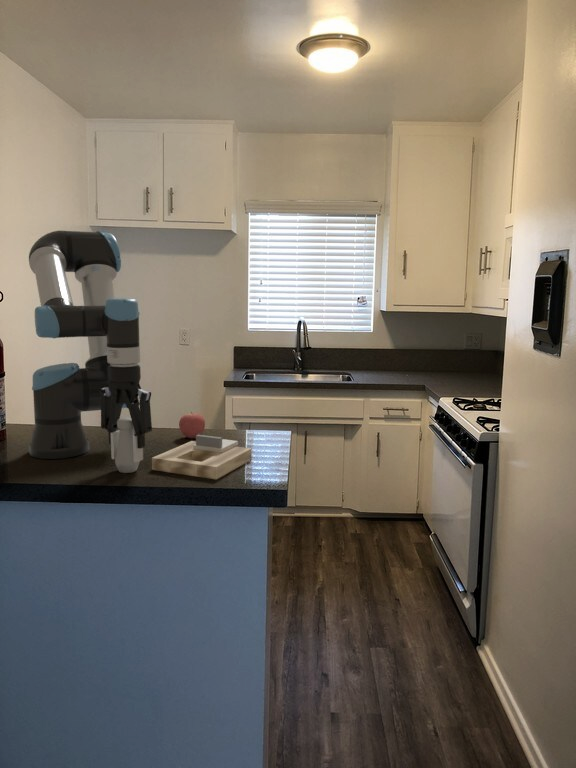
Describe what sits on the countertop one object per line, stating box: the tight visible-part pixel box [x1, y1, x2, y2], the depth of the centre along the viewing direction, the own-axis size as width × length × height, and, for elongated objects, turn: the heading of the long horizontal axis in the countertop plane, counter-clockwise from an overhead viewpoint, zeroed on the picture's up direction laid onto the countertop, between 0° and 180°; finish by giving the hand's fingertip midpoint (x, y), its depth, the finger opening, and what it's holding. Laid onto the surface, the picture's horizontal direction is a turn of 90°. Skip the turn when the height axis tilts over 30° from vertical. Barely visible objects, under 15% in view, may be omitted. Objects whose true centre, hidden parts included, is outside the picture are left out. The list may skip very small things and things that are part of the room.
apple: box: [178, 411, 206, 439], centre depth 183 cm, size 7×7×8 cm
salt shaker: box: [114, 416, 141, 474], centre depth 151 cm, size 6×6×13 cm
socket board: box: [151, 440, 252, 480], centre depth 157 cm, size 18×18×3 cm
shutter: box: [193, 434, 239, 453], centre depth 162 cm, size 8×8×4 cm
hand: (127, 459), depth 152 cm, fingers closed on salt shaker, 6 cm apart
